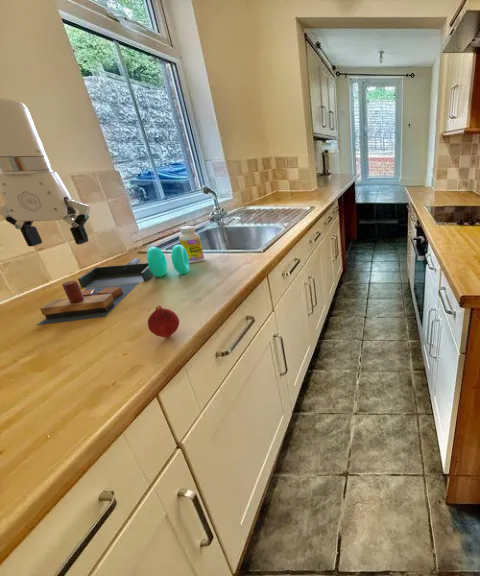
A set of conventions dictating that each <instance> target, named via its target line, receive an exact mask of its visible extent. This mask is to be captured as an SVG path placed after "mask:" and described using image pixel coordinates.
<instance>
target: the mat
mask: <svg viewBox="0 0 480 576" xmlns="http://www.w3.org/2000/svg"><path fill="white" fill-rule="evenodd" d="M140 283H141V282H136V283H126V284H116V285H106V286H96V287H87V288H84V289H83V290H82V291H84V290H90V289H95V292H96V293H97V292H99V291H101V290H103V289H105V288H107V287H121V289H122V292H123V294H121V295H119V296H118V297H116V298H114V299H113V303H114V306H113V307H112V308H111V309H110V310H108V311H107V312H105V313H97V314H89V315H80V316H72V317H64V318H55V319H46V318H44V319H43V320H41V321H40V322H39V323H37V324H36V326H44V325H53V324H59V323H68V322H77V321H83V320H91V319H100V318H105V317H107V316H108V315H109V314H110V313H111V312H112V311H113V310H114V309H115V308H116V307H117V306H118V305H119V304H120V303H121V302H122V301H123V300H124V299H126V297H127V296H128V295H130V293H131V292H132V291H133V290H134V289H135V288H136V287H137V286H138V285H139V284H140Z"/></svg>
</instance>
